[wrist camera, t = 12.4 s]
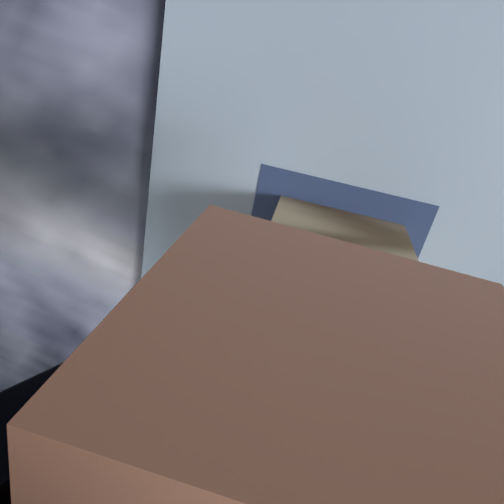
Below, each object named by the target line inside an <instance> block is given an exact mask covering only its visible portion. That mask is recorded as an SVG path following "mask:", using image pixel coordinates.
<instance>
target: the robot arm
mask: <svg viewBox="0 0 504 504" xmlns="http://www.w3.org/2000/svg"><path fill="white" fill-rule="evenodd" d="M63 363H64V362H63ZM63 363H61V364H58V365H56V366H54V367H52V368H50V369H48V370H46V371H44V372H41V373H39V374H37V375H35V376H33V377H31V378H29V379H27V380H24V381H22V382H20V383H18V384H16V385H14V386H12V387H10V388H7V389H5V390H3V391H1V392H0V504H11V491H10V474H9V457H8V440H7V423H8V422H9V421H10V420H11V419H12V418H13V417H14V416H15V415H16V413H17V412H18V411H19V410H20V409H21V408H22V407H23V406H24V405H25V404H26V403H27V402H28V401H29V399H30V398H31V397H32V396H33V395H34V394H35V393H36V392H37V391H38V390H39V389H40V388H41V386H42V385H43V384H44V383H45V382H46V381H47V380H48V379H49V378H50V377H51V376H52V375H53V373H54V372H55V371H56V370H57V369H58V368H59V367H60V366H61V365H62V364H63Z"/></svg>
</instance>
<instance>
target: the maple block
mask: <svg viewBox="0 0 504 504" xmlns="http://www.w3.org/2000/svg"><path fill="white" fill-rule="evenodd" d="M271 221H272V222H276V223H280V224H283V225H287V226H291V227H294V228H298V229H302V230H305V231H309V232H313V233H316V234H320V235H324V236H327V237H331V238H335V239H338V240H342V241H346V242H349V243H353V244H357V245H360V246H364V247H368V248H371V249H375V250H379V251H382V252H386V253H390V254H393V255H397V256H401V257H404V258H408V259H412V260H415V261H419V260H418V258H417V255H416V253H415V250H414V248H413V245H412V243H411V240H410V238H409V235H408V233H407V230H406V228H405V225H401V224H397V223H393V222H389V221H385V220H380V219H376V218H372V217H368V216H364V215H360V214H356V213H352V212H347V211H343V210H339V209H335V208H331V207H327V206H323V205H318V204H314V203H310V202H306V201H302V200H298V199H294V198H290V197H285V196H281V197H280V199H279V202H278V205H277V207H276V210H275V212H274V215H273V218H272V220H271Z"/></svg>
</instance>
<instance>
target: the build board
mask: <svg viewBox="0 0 504 504" xmlns="http://www.w3.org/2000/svg"><path fill="white" fill-rule="evenodd" d="M281 196H285V197H290V198H294V199H298V200H302V201H306V202H310V203H314V204H318V205H323V206H327V207H331V208H335V209H339V210H343V211H347V212H352V213H356V214H360V215H364V216H368V217H372V218H376V219H380V220H385V221H389V222H393V223H397V224H401V225H405V228H406V230H407V233H408V235H409V238H410V240H411V243H412V245H413V248H414V250H415V253H416V255H417V258H418V260H419V262H423V263H426V264H430V265H434V266H437V267H441V268H445V269H448V270H452V271H456V272H459V273H463V274H467V275H470V276H474V277H478V278H481V279H485V280H489V281H492V282H496V283H500V284H502V285H503V287H504V0H166V3H165V14H164V25H163V37H162V48H161V59H160V70H159V82H158V93H157V104H156V116H155V127H154V138H153V149H152V161H151V172H150V183H149V194H148V206H147V217H146V228H145V240H144V251H143V262H142V273H141V278H142V277H143V276H144V275H145V274H146V273H147V272H148V271H149V270H150V269H151V267H152V266H153V265H154V264H155V263H156V262H157V261H158V260H159V259H160V258H161V257H162V256H163V254H164V253H165V252H166V251H167V250H168V249H169V248H170V247H171V246H172V245H173V244H174V243H175V242H176V240H177V239H178V238H179V237H180V236H181V235H182V234H183V233H184V232H185V231H186V230H187V229H188V227H189V226H190V225H191V224H192V223H193V222H194V221H195V220H196V219H197V218H198V217H199V216H200V214H201V213H202V212H203V211H204V210H205V209H206V208H207V207H208V206H209V205H214V206H218V207H221V208H225V209H229V210H232V211H236V212H240V213H243V214H247V215H250V216H254V217H258V218H261V219H265V220H269V221H271V220H272V218H273V215H274V212H275V210H276V207H277V205H278V202H279V199H280V197H281Z"/></svg>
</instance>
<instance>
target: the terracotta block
mask: <svg viewBox="0 0 504 504" xmlns="http://www.w3.org/2000/svg"><path fill="white" fill-rule="evenodd" d="M7 440H8V457H9V474H10V491H11V504H504V287H503V285H502V284H500V283H496V282H492V281H489V280H485V279H481V278H478V277H474V276H470V275H467V274H463V273H459V272H456V271H452V270H448V269H445V268H441V267H437V266H434V265H430V264H426V263H423V262H419V261H415V260H412V259H408V258H404V257H401V256H397V255H393V254H390V253H386V252H382V251H379V250H375V249H371V248H368V247H364V246H360V245H357V244H353V243H349V242H346V241H342V240H338V239H335V238H331V237H327V236H324V235H320V234H316V233H313V232H309V231H305V230H302V229H298V228H294V227H291V226H287V225H283V224H280V223H276V222H272V221H269V220H265V219H261V218H258V217H254V216H250V215H247V214H243V213H240V212H236V211H232V210H229V209H225V208H221V207H218V206H214V205H209V206H208V207H207V208H206V209H205V210H204V211H203V212H202V213H201V214H200V216H199V217H198V218H197V219H196V220H195V221H194V222H193V223H192V224H191V225H190V226H189V227H188V229H187V230H186V231H185V232H184V233H183V234H182V235H181V236H180V237H179V238H178V239H177V240H176V242H175V243H174V244H173V245H172V246H171V247H170V248H169V249H168V250H167V251H166V252H165V253H164V254H163V256H162V257H161V258H160V259H159V260H158V261H157V262H156V263H155V264H154V265H153V266H152V267H151V269H150V270H149V271H148V272H147V273H146V274H145V275H144V276H143V277H142V278H141V279H140V280H139V282H138V283H137V284H136V285H135V286H134V287H133V288H132V289H131V290H130V291H129V292H128V293H127V295H126V296H125V297H124V298H123V299H122V300H121V301H120V302H119V303H118V304H117V305H116V306H115V307H114V309H113V310H112V311H111V312H110V313H109V314H108V315H107V316H106V317H105V318H104V319H103V320H102V322H101V323H100V324H99V325H98V326H97V327H96V328H95V329H94V330H93V331H92V332H91V333H90V335H89V336H88V337H87V338H86V339H85V340H84V341H83V342H82V343H81V344H80V345H79V346H78V348H77V349H76V350H75V351H74V352H73V353H72V354H71V355H70V356H69V357H68V358H67V359H66V360H65V362H64V363H63V364H62V365H61V366H60V367H59V368H58V369H57V370H56V371H55V372H54V373H53V375H52V376H51V377H50V378H49V379H48V380H47V381H46V382H45V383H44V384H43V385H42V386H41V388H40V389H39V390H38V391H37V392H36V393H35V394H34V395H33V396H32V397H31V398H30V399H29V401H28V402H27V403H26V404H25V405H24V406H23V407H22V408H21V409H20V410H19V411H18V412H17V413H16V415H15V416H14V417H13V418H12V419H11V420H10V421H9V422H8V423H7Z"/></svg>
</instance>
